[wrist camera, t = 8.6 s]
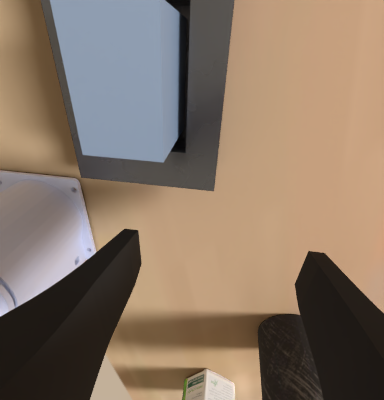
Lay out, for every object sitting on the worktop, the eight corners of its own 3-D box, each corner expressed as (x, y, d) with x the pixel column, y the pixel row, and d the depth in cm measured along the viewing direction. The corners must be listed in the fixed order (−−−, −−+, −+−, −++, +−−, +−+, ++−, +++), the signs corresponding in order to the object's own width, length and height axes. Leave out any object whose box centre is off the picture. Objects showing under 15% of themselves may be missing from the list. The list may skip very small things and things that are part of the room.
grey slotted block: (216, 168, 18) (213, 196, 15) (104, 157, 19) (75, 182, 15) (264, -281, 9) (289, -519, 5) (36, -264, 10) (-83, -460, 6)
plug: (183, 128, 16) (163, 162, 11) (127, 124, 17) (82, 154, 11) (186, 18, 13) (159, -4, 8) (116, 15, 13) (48, -8, 8)
